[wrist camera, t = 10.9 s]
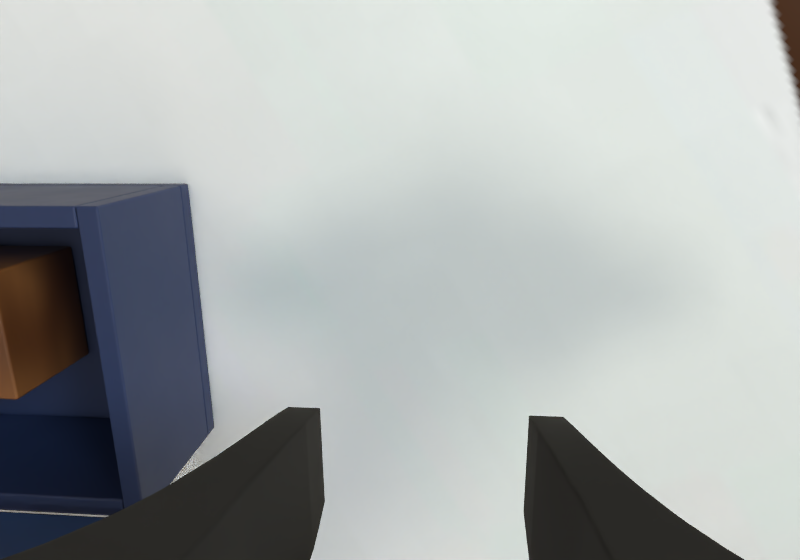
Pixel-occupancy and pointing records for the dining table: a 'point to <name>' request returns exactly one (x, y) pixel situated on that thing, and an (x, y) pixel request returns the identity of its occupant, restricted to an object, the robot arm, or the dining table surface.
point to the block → (37, 317)
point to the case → (110, 351)
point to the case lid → (35, 529)
